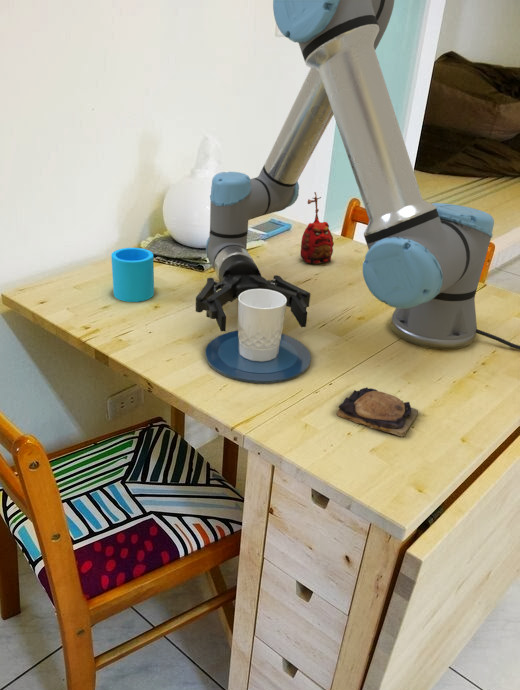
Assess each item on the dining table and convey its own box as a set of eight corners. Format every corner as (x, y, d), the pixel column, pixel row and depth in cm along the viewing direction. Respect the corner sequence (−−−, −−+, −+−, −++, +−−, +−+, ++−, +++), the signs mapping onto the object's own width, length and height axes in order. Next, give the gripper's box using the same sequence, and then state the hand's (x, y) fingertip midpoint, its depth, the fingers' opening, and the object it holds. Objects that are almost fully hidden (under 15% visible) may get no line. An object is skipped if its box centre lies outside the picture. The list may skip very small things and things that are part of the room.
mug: (158, 299, 129) (158, 260, 125) (118, 304, 127) (116, 264, 122) (143, 277, 138) (142, 239, 134) (105, 281, 136) (103, 243, 132)
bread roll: (420, 413, 98) (425, 393, 96) (402, 440, 92) (407, 419, 90) (354, 391, 102) (357, 371, 100) (332, 415, 96) (336, 394, 94)
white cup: (233, 361, 108) (236, 306, 102) (237, 339, 114) (240, 286, 109) (280, 365, 107) (286, 310, 102) (282, 343, 114) (287, 290, 108)
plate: (325, 348, 114) (325, 344, 114) (285, 395, 101) (286, 391, 100) (234, 324, 121) (234, 320, 121) (185, 365, 107) (185, 361, 107)
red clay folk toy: (308, 267, 147) (316, 200, 139) (293, 257, 152) (299, 192, 144) (336, 263, 149) (346, 197, 141) (320, 253, 155) (328, 189, 147)
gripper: (298, 288, 127) (334, 338, 110) (172, 294, 123) (188, 346, 105) (302, 251, 123) (340, 297, 106) (172, 255, 119) (188, 304, 101)
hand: (264, 322), depth 106 cm, fingers open, 13 cm apart
